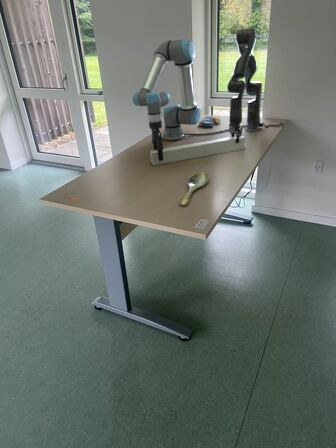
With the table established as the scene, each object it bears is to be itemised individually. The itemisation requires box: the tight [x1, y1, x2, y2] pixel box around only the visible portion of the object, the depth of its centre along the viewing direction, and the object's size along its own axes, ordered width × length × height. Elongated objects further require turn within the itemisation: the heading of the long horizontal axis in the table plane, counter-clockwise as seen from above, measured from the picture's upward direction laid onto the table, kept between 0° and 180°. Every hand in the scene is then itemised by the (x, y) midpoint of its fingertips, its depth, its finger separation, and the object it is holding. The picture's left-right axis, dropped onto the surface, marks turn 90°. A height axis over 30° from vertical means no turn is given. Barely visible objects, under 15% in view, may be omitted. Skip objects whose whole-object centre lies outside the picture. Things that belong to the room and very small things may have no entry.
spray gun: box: [198, 116, 221, 128], centre depth 272 cm, size 21×4×15 cm
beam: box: [149, 135, 246, 166], centre depth 211 cm, size 61×5×8 cm, turn 107°
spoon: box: [180, 171, 210, 207], centre depth 170 cm, size 35×11×2 cm, turn 159°
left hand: (158, 157), depth 205 cm, fingers open, 9 cm apart
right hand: (235, 141), depth 215 cm, fingers open, 5 cm apart
